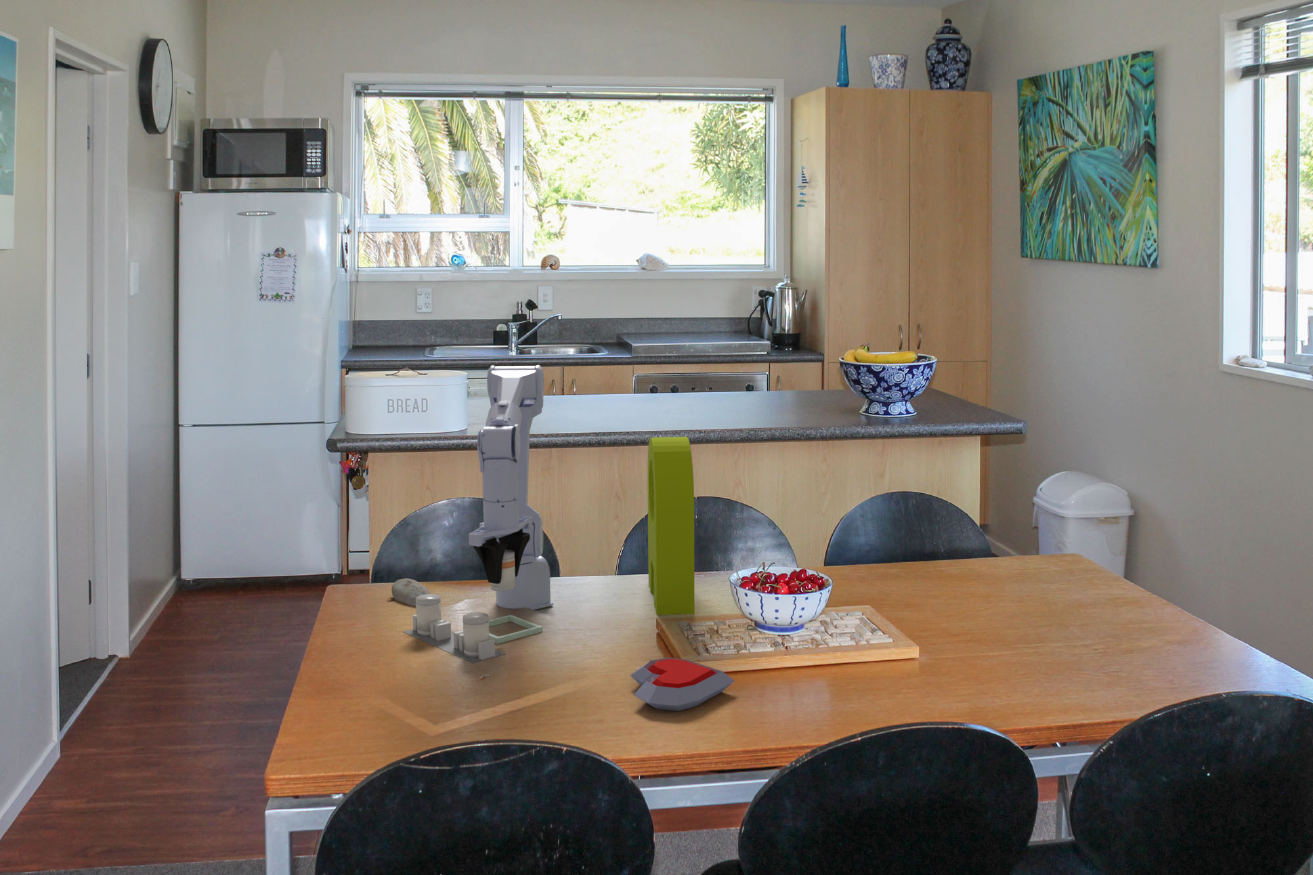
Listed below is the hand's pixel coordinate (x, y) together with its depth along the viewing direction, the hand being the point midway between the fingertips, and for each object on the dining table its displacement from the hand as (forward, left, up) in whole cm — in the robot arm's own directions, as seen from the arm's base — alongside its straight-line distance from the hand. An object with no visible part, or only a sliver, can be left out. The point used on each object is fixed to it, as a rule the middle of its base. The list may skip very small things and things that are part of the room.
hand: (503, 579), depth 194 cm
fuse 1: (+10, -8, -9) cm, 15 cm away
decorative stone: (+1, -28, -10) cm, 30 cm away
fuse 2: (+10, +6, -9) cm, 14 cm away
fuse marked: (0, 0, -1) cm, 1 cm away
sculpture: (-4, +39, -10) cm, 41 cm away
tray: (0, 0, -10) cm, 10 cm away
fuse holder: (+10, -1, -10) cm, 14 cm away
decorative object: (-35, +3, -10) cm, 37 cm away
